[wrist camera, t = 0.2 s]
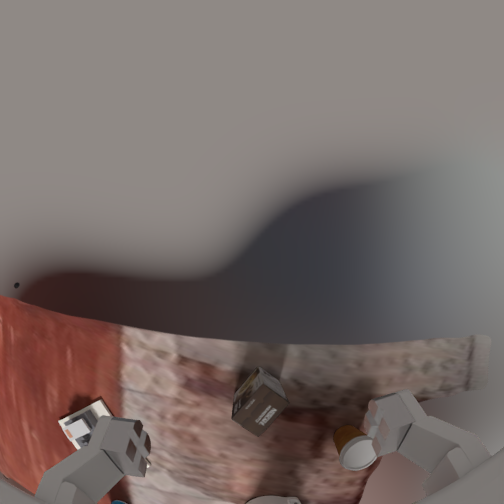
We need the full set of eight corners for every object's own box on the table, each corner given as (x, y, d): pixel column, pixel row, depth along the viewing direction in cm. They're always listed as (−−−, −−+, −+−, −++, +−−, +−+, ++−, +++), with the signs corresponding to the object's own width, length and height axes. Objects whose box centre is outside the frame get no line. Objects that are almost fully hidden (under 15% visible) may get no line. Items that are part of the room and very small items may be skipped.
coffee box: (255, 409, 57) (258, 438, 42) (233, 393, 58) (229, 420, 42) (280, 380, 59) (291, 403, 43) (258, 364, 60) (262, 383, 44)
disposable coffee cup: (369, 429, 56) (388, 447, 44) (344, 455, 55) (359, 477, 43) (345, 413, 57) (363, 431, 45) (319, 440, 56) (332, 462, 44)
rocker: (91, 430, 50) (90, 432, 49) (72, 440, 48) (70, 441, 47) (83, 417, 51) (81, 418, 50) (63, 427, 48) (61, 428, 47)
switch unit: (151, 465, 53) (143, 475, 47) (104, 479, 51) (95, 489, 45) (101, 398, 56) (90, 405, 50) (60, 420, 54) (48, 426, 48)
